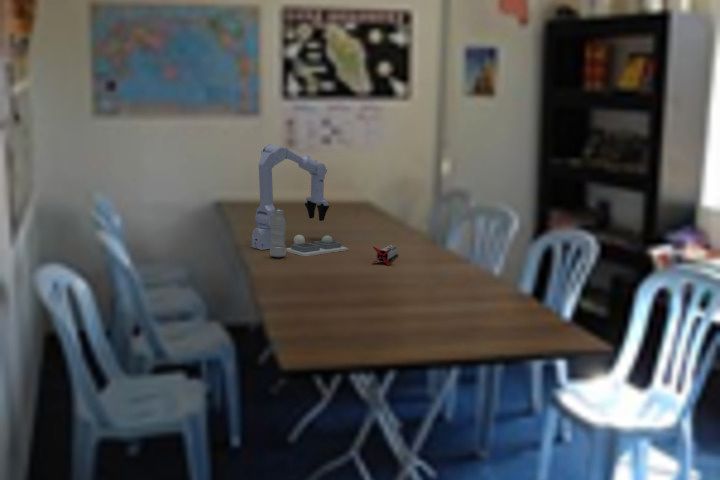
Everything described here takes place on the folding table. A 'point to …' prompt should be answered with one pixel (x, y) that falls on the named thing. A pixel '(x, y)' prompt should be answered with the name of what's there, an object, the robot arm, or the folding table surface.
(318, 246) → the ball sorting tray
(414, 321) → the folding table surface
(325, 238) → the sage ball
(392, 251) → the model rocket
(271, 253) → the plastic bottle
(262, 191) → the robot arm
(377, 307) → the folding table surface
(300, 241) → the ivory ball
